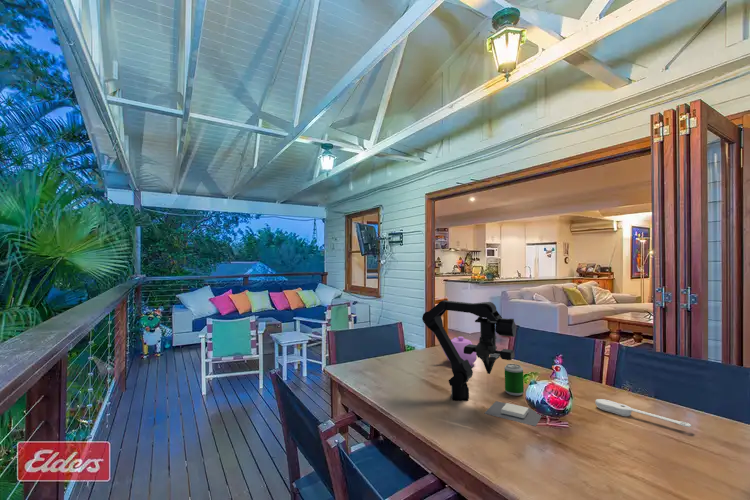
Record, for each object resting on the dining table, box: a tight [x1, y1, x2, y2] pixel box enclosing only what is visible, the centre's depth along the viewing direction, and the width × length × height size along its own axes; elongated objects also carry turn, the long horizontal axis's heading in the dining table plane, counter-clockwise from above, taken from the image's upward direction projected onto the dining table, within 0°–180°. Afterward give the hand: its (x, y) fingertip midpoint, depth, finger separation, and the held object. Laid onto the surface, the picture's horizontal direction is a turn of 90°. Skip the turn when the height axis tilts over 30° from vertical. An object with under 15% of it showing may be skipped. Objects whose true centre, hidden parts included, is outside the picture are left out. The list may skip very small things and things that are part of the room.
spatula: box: [594, 398, 692, 428], centre depth 126 cm, size 28×6×3 cm, turn 38°
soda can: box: [504, 363, 525, 397], centre depth 151 cm, size 8×8×12 cm
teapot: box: [440, 335, 478, 367], centre depth 197 cm, size 20×20×15 cm
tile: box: [501, 402, 530, 418], centre depth 132 cm, size 2×7×8 cm
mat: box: [484, 400, 543, 427], centre depth 132 cm, size 18×14×1 cm
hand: (488, 373), depth 140 cm, fingers closed
